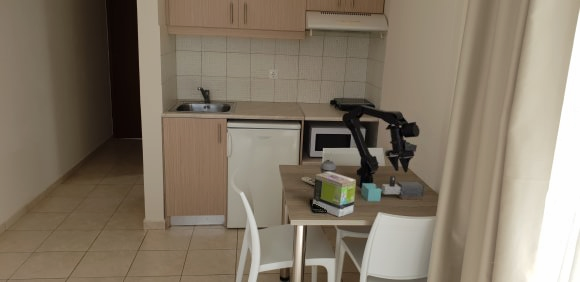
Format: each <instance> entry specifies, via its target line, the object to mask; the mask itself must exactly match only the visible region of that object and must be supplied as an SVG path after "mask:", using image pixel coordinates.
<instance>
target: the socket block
mask: <svg viewBox="0 0 580 282" xmlns="http://www.w3.org/2000/svg"><path fill="white" fill-rule="evenodd" d="M381 189H382V188H379V187H378V188H377V184H375V183H374V182H373V183H362V188H361V193H360V194H361V196H362V197H363V199H365V200H366V201H367V202H381V195H382V192H381Z"/></svg>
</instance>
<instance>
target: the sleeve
mask: <svg viewBox="0 0 580 282" xmlns="http://www.w3.org/2000/svg"><path fill="white" fill-rule="evenodd" d="M396 184H399V185H401V186H402V188H401V194H396V197H397V198H399V199H400V200H404V201H406V200H407V201H410V200H413V201H414V200H417V201H418V200H419V201H420V200H422V198H423V197H424V191H425V185H424V184H422V183H421V182H420V181H397V183H396Z"/></svg>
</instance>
